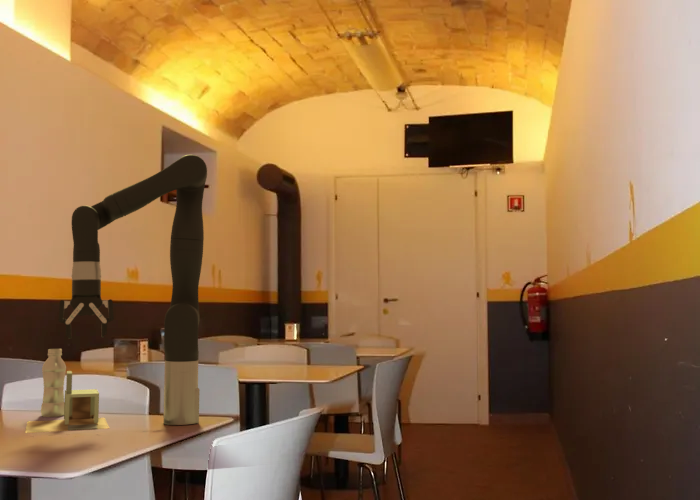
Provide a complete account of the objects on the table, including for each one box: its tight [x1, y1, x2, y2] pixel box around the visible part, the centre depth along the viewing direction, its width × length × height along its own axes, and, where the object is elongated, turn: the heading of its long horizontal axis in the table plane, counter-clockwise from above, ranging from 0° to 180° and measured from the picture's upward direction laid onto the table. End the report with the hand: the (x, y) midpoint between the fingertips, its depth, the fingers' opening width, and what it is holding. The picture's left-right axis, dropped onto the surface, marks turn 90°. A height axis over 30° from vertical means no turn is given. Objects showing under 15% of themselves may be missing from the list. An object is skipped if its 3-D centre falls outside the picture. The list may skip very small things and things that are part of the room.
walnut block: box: [72, 397, 91, 420], centre depth 204 cm, size 4×4×7 cm
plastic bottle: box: [40, 348, 67, 418], centre depth 217 cm, size 6×7×20 cm
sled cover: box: [63, 370, 100, 425], centre depth 205 cm, size 8×11×13 cm
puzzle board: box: [25, 415, 110, 438], centre depth 199 cm, size 20×20×2 cm
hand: (86, 337), depth 206 cm, fingers open, 8 cm apart
